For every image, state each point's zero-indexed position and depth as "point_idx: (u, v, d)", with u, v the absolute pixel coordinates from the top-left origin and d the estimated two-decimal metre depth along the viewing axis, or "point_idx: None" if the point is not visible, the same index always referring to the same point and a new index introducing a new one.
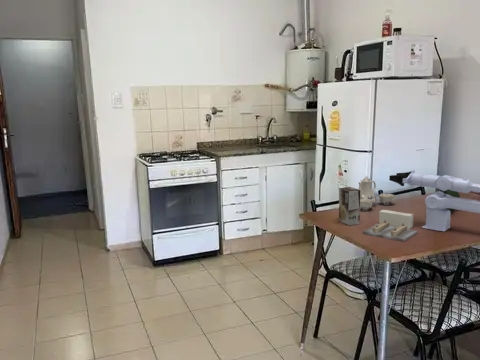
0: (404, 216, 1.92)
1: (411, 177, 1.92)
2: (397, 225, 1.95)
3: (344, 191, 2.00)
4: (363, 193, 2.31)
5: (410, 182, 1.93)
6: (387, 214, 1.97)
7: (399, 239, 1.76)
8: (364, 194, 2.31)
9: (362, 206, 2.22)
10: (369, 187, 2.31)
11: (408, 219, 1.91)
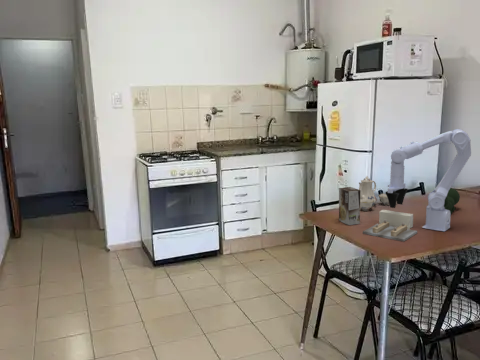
0: (404, 216, 1.92)
1: (392, 186, 1.93)
2: (397, 225, 1.95)
3: (344, 191, 2.00)
4: (363, 193, 2.31)
5: (396, 187, 1.91)
6: (387, 214, 1.97)
7: (399, 239, 1.76)
8: (364, 194, 2.31)
9: (362, 206, 2.22)
10: (369, 187, 2.31)
11: (408, 219, 1.91)
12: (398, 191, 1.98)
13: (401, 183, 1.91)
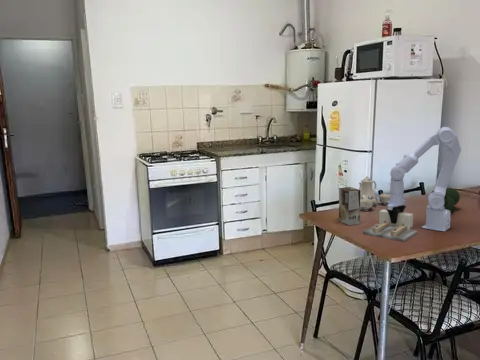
0: (404, 216, 1.92)
1: (391, 202, 1.94)
2: (397, 225, 1.94)
3: (344, 191, 2.00)
4: (363, 193, 2.31)
5: (396, 204, 1.92)
6: (387, 213, 1.97)
7: (399, 239, 1.76)
8: (364, 194, 2.31)
9: (362, 206, 2.22)
10: (370, 187, 2.30)
11: (408, 219, 1.90)
12: (396, 208, 1.98)
13: (400, 200, 1.92)
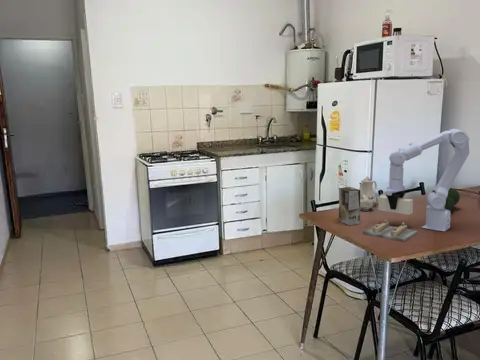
0: (404, 201, 1.88)
1: (390, 188, 1.91)
2: (396, 211, 1.91)
3: (344, 191, 2.00)
4: (364, 193, 2.31)
5: (395, 189, 1.89)
6: (387, 199, 1.94)
7: (399, 239, 1.76)
8: (365, 194, 2.31)
9: (363, 206, 2.22)
10: (370, 187, 2.30)
11: (408, 204, 1.87)
12: (396, 194, 1.95)
13: (400, 185, 1.89)
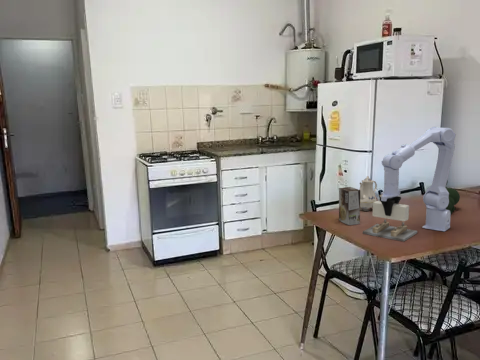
0: (399, 207, 1.79)
1: (385, 193, 1.81)
2: (392, 217, 1.82)
3: (344, 191, 2.00)
4: (364, 193, 2.31)
5: (390, 195, 1.80)
6: (381, 205, 1.84)
7: (399, 239, 1.76)
8: (365, 194, 2.31)
9: (363, 206, 2.22)
10: (370, 187, 2.30)
11: (404, 210, 1.78)
12: (391, 199, 1.85)
13: (395, 190, 1.80)
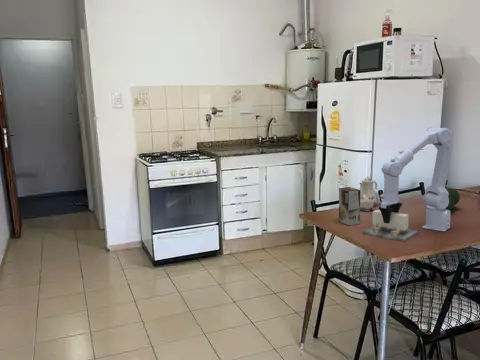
0: (399, 216, 1.80)
1: (385, 200, 1.82)
2: (391, 226, 1.83)
3: (344, 191, 2.00)
4: (364, 193, 2.31)
5: (390, 202, 1.80)
6: (381, 214, 1.85)
7: (399, 239, 1.76)
8: (365, 194, 2.31)
9: (363, 206, 2.21)
10: (370, 187, 2.30)
11: (403, 220, 1.79)
12: (392, 205, 1.87)
13: (395, 197, 1.80)
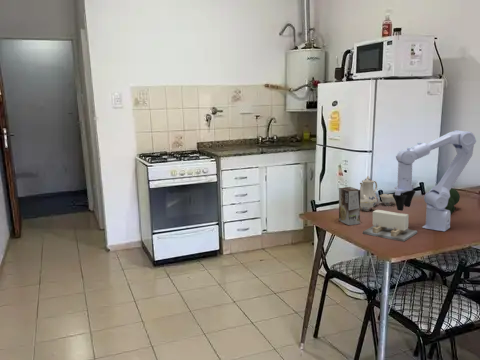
0: (399, 216, 1.80)
1: (399, 188, 1.86)
2: (391, 226, 1.83)
3: (344, 191, 2.00)
4: (364, 193, 2.31)
5: (404, 189, 1.85)
6: (381, 214, 1.85)
7: (399, 239, 1.76)
8: (365, 194, 2.30)
9: (363, 206, 2.21)
10: (370, 187, 2.30)
11: (403, 220, 1.79)
12: (405, 193, 1.91)
13: (409, 185, 1.85)
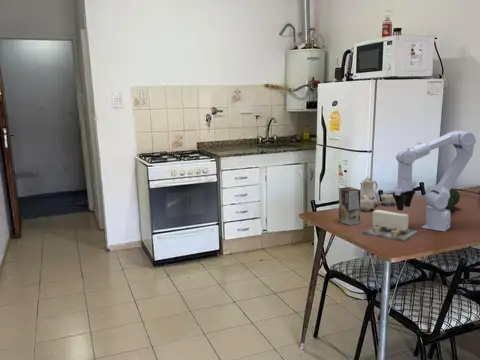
0: (399, 216, 1.80)
1: (399, 188, 1.86)
2: (391, 226, 1.83)
3: (344, 191, 2.00)
4: (365, 193, 2.31)
5: (404, 189, 1.85)
6: (381, 214, 1.85)
7: (399, 239, 1.76)
8: (366, 194, 2.30)
9: (364, 206, 2.21)
10: (371, 187, 2.30)
11: (403, 220, 1.79)
12: (405, 193, 1.91)
13: (409, 185, 1.85)
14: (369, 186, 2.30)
